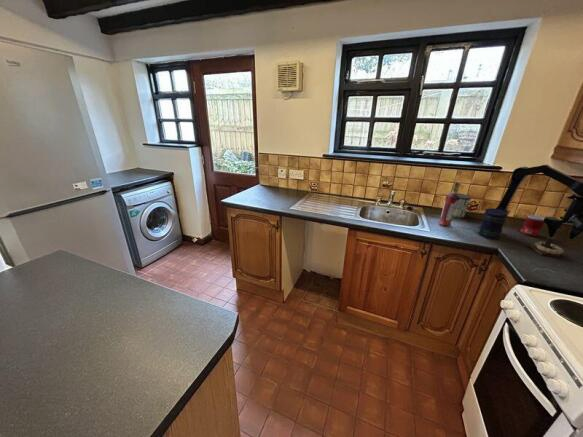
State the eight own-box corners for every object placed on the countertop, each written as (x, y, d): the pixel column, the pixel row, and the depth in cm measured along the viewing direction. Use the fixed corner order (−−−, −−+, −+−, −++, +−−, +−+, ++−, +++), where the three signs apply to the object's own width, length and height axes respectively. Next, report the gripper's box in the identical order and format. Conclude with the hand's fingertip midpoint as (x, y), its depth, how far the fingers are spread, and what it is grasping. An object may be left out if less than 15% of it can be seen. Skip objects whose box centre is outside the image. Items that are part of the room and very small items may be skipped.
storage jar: (474, 232, 146) (480, 209, 139) (489, 230, 146) (496, 207, 140) (488, 240, 137) (495, 216, 130) (504, 238, 137) (512, 214, 131)
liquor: (442, 221, 158) (456, 179, 147) (453, 226, 152) (468, 183, 141) (434, 223, 155) (448, 180, 144) (445, 228, 149) (460, 184, 138)
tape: (544, 254, 122) (546, 250, 121) (528, 243, 132) (530, 239, 131) (568, 256, 121) (570, 252, 120) (550, 245, 131) (552, 241, 130)
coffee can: (447, 210, 177) (453, 192, 171) (464, 214, 172) (470, 195, 166) (446, 215, 169) (453, 196, 163) (464, 218, 164) (471, 199, 158)
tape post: (541, 255, 123) (548, 241, 120) (527, 246, 131) (534, 233, 128) (560, 257, 122) (568, 243, 119) (545, 248, 130) (553, 234, 127)
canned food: (540, 237, 142) (549, 220, 137) (525, 235, 143) (533, 218, 139) (531, 231, 149) (539, 215, 144) (516, 230, 150) (524, 213, 146)
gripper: (570, 214, 110) (553, 244, 117) (616, 217, 108) (597, 247, 115) (549, 205, 120) (535, 233, 127) (591, 208, 118) (575, 236, 125)
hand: (560, 237), depth 123 cm, fingers open, 9 cm apart
